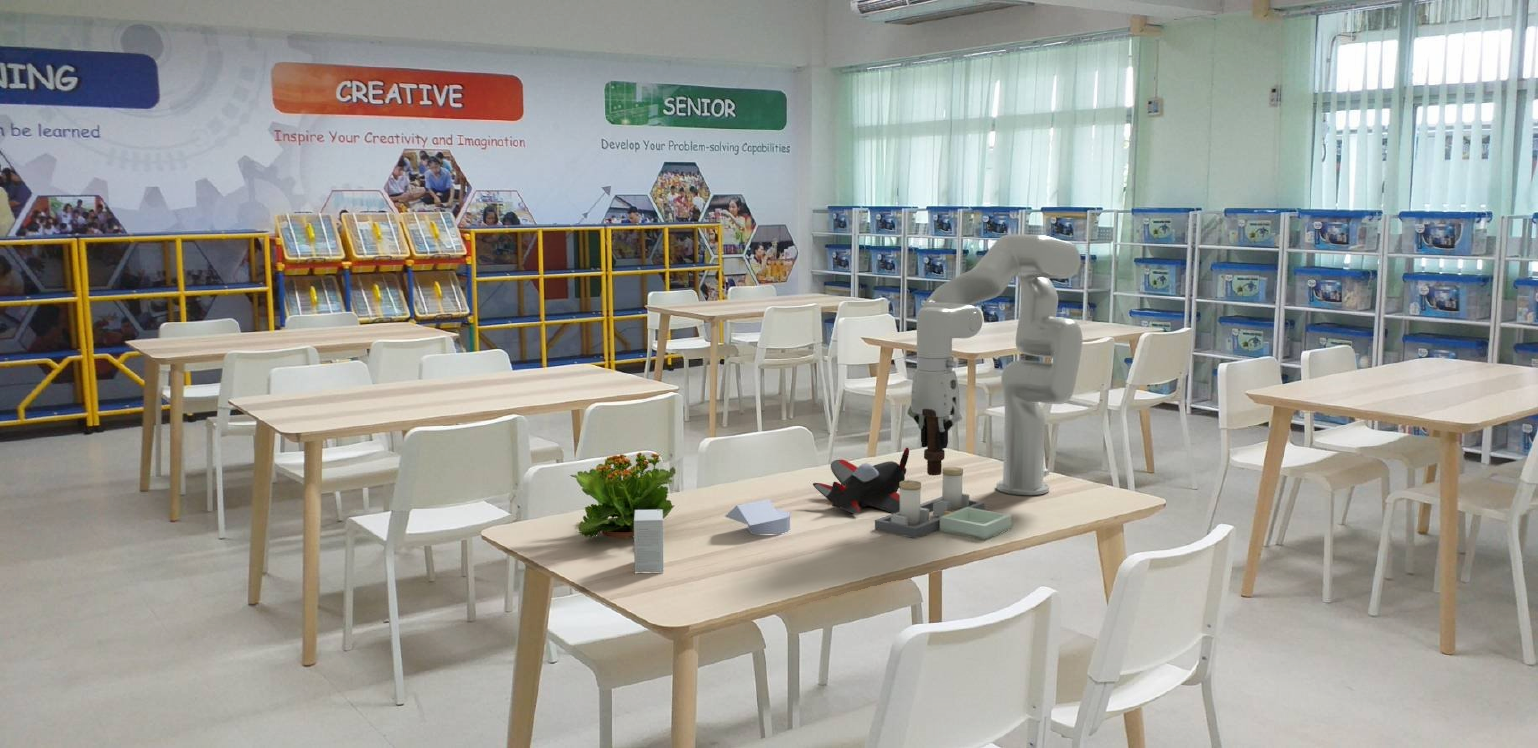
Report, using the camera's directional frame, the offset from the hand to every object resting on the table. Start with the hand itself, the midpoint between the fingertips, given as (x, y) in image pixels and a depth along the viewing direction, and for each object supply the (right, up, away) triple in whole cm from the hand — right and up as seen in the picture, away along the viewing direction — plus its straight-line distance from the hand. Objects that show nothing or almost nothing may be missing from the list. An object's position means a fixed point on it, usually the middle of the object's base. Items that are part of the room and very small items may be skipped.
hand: (934, 446), depth 257 cm
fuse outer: (-6, -17, -4) cm, 19 cm away
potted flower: (-67, -18, -6) cm, 70 cm away
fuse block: (0, -16, +2) cm, 16 cm away
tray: (+8, -17, -6) cm, 20 cm away
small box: (-59, -22, -31) cm, 70 cm away
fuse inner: (+5, -15, +8) cm, 18 cm away
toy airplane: (-13, -15, +16) cm, 25 cm away
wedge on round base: (-38, -18, -6) cm, 42 cm away
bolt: (0, -6, +1) cm, 6 cm away
